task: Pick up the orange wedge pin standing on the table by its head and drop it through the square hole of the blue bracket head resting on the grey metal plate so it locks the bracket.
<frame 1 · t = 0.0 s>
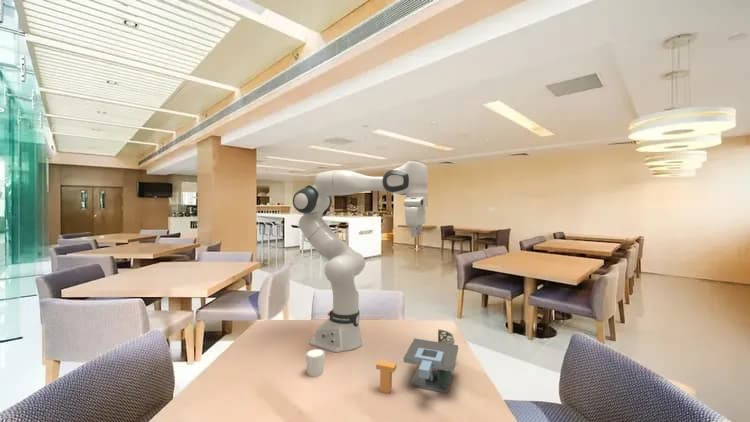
hand: (416, 236, 123), 48 cm above the table, tool pointing down, fingers open, 8 cm apart
bracket: (427, 363, 98), point 9 cm above the table
metal plate: (431, 380, 106), on the table
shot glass: (315, 372, 110), on the table
wedge: (386, 389, 100), on the table
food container: (446, 361, 119), on the table
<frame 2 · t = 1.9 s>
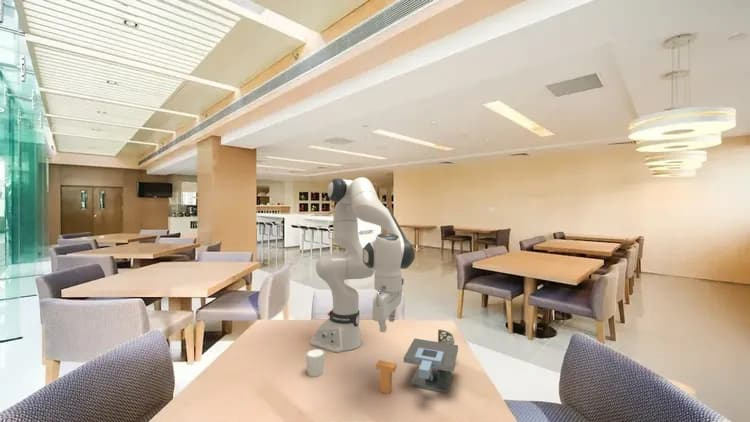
hand: (387, 326, 100), 21 cm above the table, tool pointing down, fingers open, 8 cm apart
nothing on the table moved.
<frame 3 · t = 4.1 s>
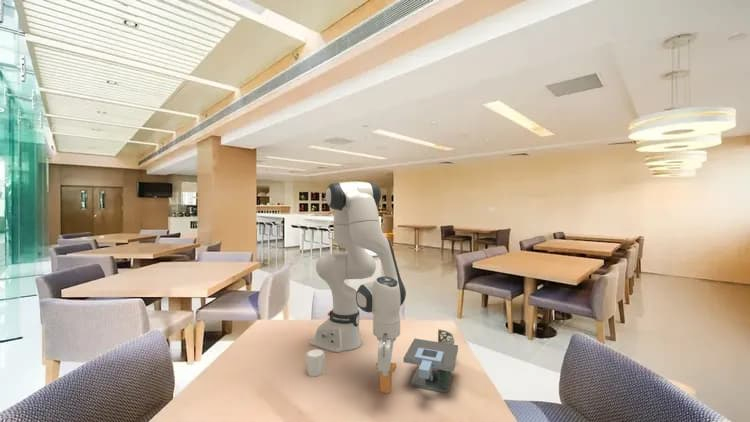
hand: (386, 370, 100), 6 cm above the table, tool pointing down, fingers closed on wedge, 3 cm apart
wedge: (386, 389, 100), on the table, touching gripper
everything else where it was.
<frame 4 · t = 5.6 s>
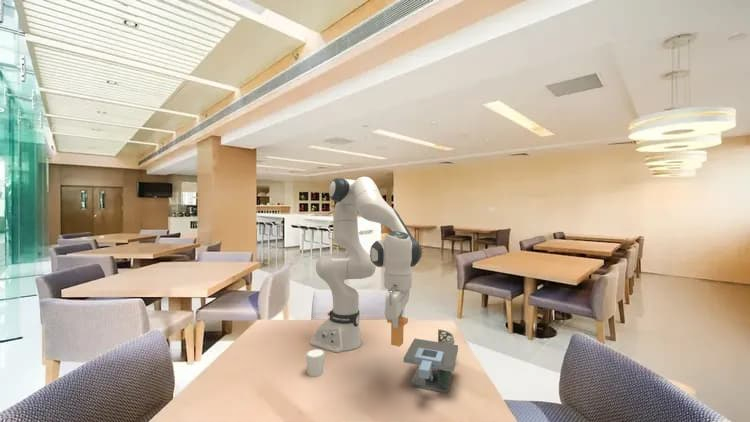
hand: (397, 324, 100), 21 cm above the table, tool pointing down, fingers closed on wedge, 3 cm apart
wedge: (397, 343, 100), point 15 cm above the table, touching gripper
everything else where it was.
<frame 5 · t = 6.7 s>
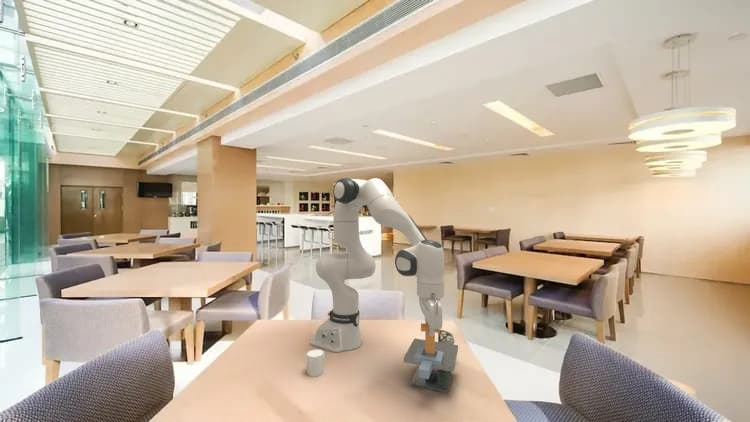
hand: (430, 332, 101), 19 cm above the table, tool pointing down, fingers closed on wedge, 3 cm apart
wedge: (429, 351, 101), point 12 cm above the table, touching gripper
everything else where it was.
when the fingers open (16 cm above the table, at t = 7.4 s): wedge drops 5 cm, resting on bracket.
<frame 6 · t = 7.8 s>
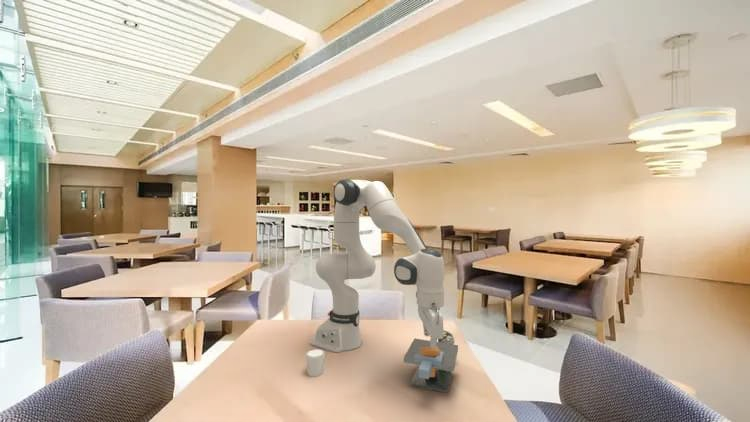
hand: (429, 340, 101), 16 cm above the table, tool pointing down, fingers open, 7 cm apart
wedge: (429, 374, 101), point 4 cm above the table, touching bracket
everything else where it was.
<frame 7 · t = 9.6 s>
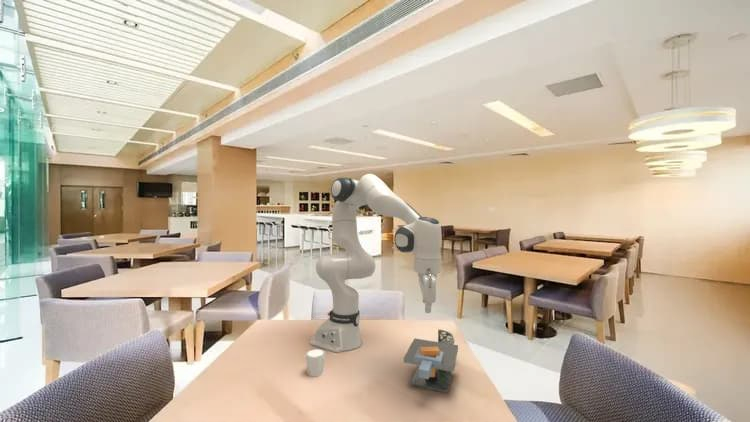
hand: (426, 307, 103), 26 cm above the table, tool pointing down, fingers open, 8 cm apart
nothing on the table moved.
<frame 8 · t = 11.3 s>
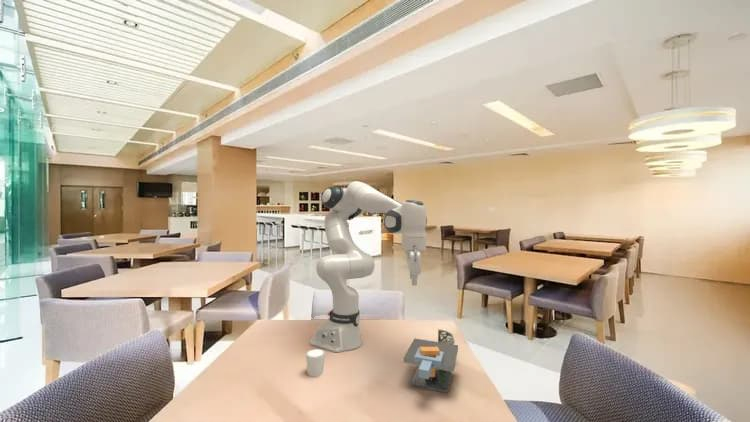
hand: (413, 281, 113), 32 cm above the table, tool pointing down, fingers open, 8 cm apart
nothing on the table moved.
at the end: wedge 0.0 cm from the target spot on the metal plate, point 4.5 cm above the metal plate's base; wedge tilted 0°; the gripper is holding nothing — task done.
